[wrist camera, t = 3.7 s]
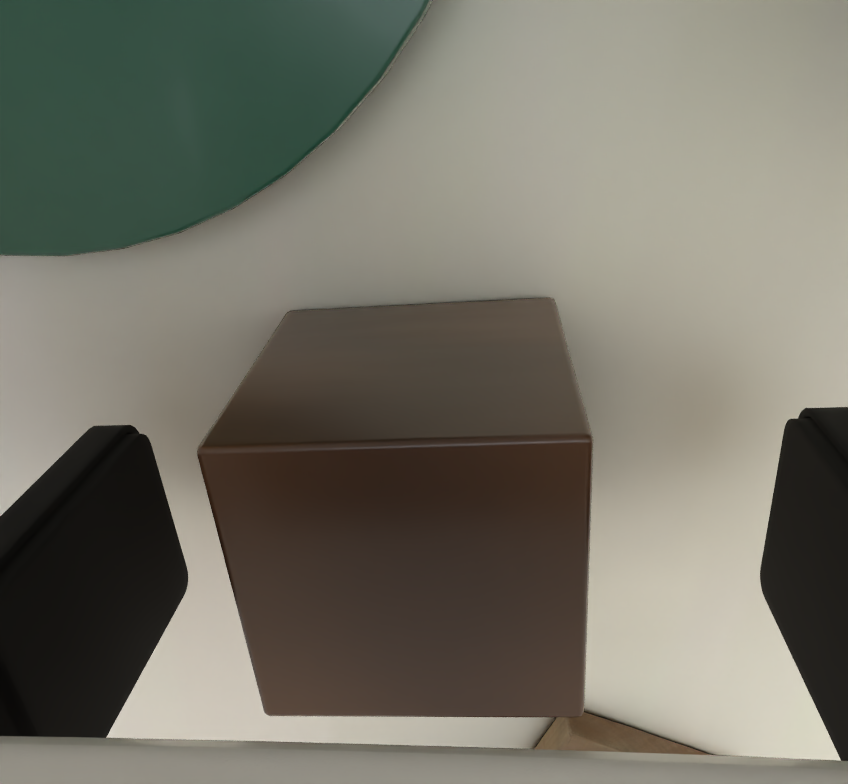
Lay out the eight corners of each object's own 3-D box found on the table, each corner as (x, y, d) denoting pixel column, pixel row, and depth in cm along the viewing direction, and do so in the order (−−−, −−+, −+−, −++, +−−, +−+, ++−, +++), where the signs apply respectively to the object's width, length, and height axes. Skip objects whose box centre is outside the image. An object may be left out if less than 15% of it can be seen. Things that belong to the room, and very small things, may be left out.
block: (324, 523, 14) (263, 718, 10) (286, 309, 12) (191, 449, 8) (553, 517, 13) (584, 720, 10) (555, 295, 11) (594, 436, 8)
